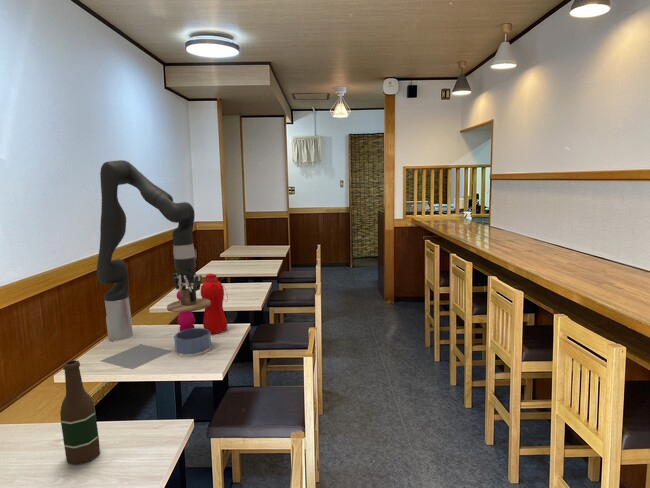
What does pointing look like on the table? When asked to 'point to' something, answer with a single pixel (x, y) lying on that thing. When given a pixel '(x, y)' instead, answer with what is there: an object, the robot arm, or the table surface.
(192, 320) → the pepper mill
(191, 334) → the bowl
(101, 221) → the robot arm
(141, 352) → the mat
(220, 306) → the water bottle
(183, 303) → the lid
